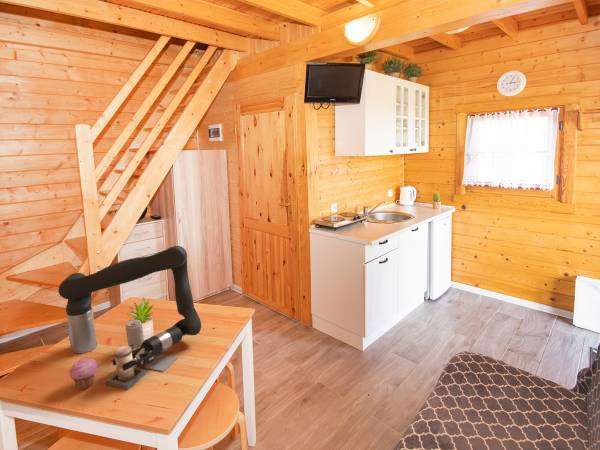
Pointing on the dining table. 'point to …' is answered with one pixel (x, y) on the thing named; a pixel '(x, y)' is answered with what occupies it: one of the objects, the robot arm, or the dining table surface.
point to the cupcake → (83, 372)
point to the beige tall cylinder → (121, 358)
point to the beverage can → (134, 333)
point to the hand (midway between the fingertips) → (118, 365)
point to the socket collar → (113, 382)
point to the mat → (161, 363)
